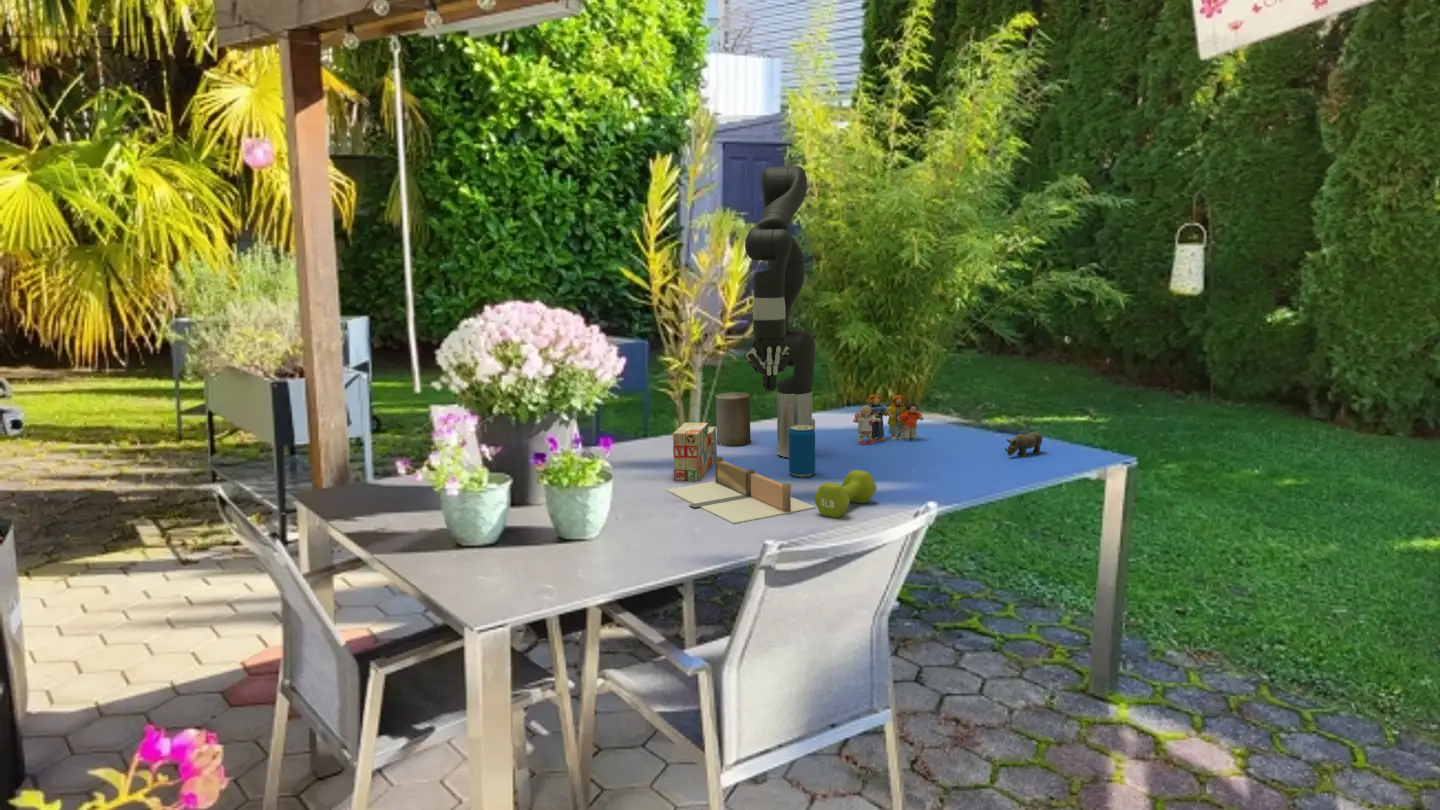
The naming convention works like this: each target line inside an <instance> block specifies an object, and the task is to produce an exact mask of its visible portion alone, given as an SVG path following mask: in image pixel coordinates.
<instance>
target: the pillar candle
mask: <svg viewBox="0 0 1440 810" xmlns="http://www.w3.org/2000/svg"><path fill="white" fill-rule="evenodd" d="M750 399H751V398H750V394H749V393H747V392H735V391H732V392H724V393H719V394H716V395H715V415H716V416H715V418H716V419H715V420H716V443H717V444H718V445H720V444H721V445H720V446H723V445H727V446H726V447H738V446H739V445H740V446H747V445H749V444H751V443H752V440H751V403H750V401H751V400H750Z"/></svg>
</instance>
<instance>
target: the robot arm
mask: <svg viewBox="0 0 1440 810" xmlns="http://www.w3.org/2000/svg"><path fill="white" fill-rule="evenodd" d="M761 175H762V176H761V189H762V192H761V193H762V200H763V207H764V209H763V212H762V214H761V217H760V221H758V222H757V223H756V224H755V225H754V226H753V227H752V228H750V230H749V232H748V233H747V235H746V237H745V241H744V250H745V253H746V255H747V256H748V258H750V259H751V260H754V261H767V269H765V270H760V271H758V272H756V273H754V276H753V303H752V336H753V342H752V348H751V349H750V350H749V351H748V352H745V353H743V357H744V358H745V359H746V361H747V362H748V363H749V365H750V366H751V367H752V369H753V371H754V372H755V373H757V374H761V375H762V388H763V389H764V391H766V392H773V391H774V392H775V391H776V408H777V409H776V414H777V416H776V417H777V418H776V420H777V421H776V426H777V428H776V429H777V431H776V432H777V441H776V442H777V445H776V446H777V447H776V448H777V456H778V455H780V456H783V457H782V458H784V457H788V458H787V459H789V431H790V430H791V426H795V425H809V426H813V429H814V431H815V432H816V420H815V418H813V385H814V384H813V383H814V378H815V377H814V376H815V360H816V359H815V357H816V343H815V339H814V336H813V334H811V333H810V332H807V331H801V330H800V331H799V330H790V316H791V315H790V313H791V309H792V307H793V305H794V303H795V301H796V299H797V297H798V296H799V294H800V292H801V290H802V288H803V285H804V283H805V260H804V259H805V258H804V253H803V252H802V249H801V248H800V246H799V244H798V243H797V241H796V239H794V237H793V236H792V234H791V233H790V232H789V229H790V227H791V223H792V220H793V217H794V216H795V214H796V213H797V212H798V210H799V209H800V207H801V206H802V204H803V203H804V200H805V198H806V195H807V191H808V180H807V174H806V171H805V169H804V168H803V167H802V166H799V165H785V166H784V165H783V166H770V167H766V168H764V169H763V172H762V174H761ZM758 359H759V360H758ZM787 366H788V367H793V371H792V372H793V373H792V374H791V375H790V376H787V377H784V378H781V379H779V380H778V381H777V375H778V374H779V373H782V372H783V371H785V369H786V368H787ZM780 456H779V457H780Z"/></svg>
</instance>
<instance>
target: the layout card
mask: <svg viewBox="0 0 1440 810" xmlns="http://www.w3.org/2000/svg"><path fill="white" fill-rule="evenodd" d="M730 489H731V490H730ZM665 492H668V493H670V494H671V495H674V496H676V497H678V498H680V499H682V500H683V501H686V502H688V503H690V504H689V506H690V507H692V508H701V509H702V510H705V511H706V512H708V513H710V514H712V515H714V514H715V515H714V516H716V515H717V516H716V517H718V516H719V518H720V517H721V519H722V518H723V520H724V519H725V521H726V520H727V522H728V521H730V522H732V523H736V524H740V523H739V522H741V523H745V521H746V522H750V521H756V520H761V519H766V518H772V517H776V516H777V517H778V516H782V515H787V514H792V513H798V512H802V511H808V510H813V509H816V506H814V505H812V504H810V503H807V502H805V501H802V500H800V499H798V498H794V497H793V496H791V511H783V510H781V509H779V508H777V507H774V506H772V505H770V504H767V503H765V502H763V501H761V500H758V499H756V498H754V497H751V496H748V494H747V495H745V494H743V493H741V492H739V491H736V490H734V489H732V488H729V487H727V486H725V485H723V484H720V483H718V482H716V480H715V481H710V482H702V483H696V484H690V485H686V486H685V485H684V486H679V487H678V486H677V487H673V488H667V489H666V490H665ZM730 522H729V523H730ZM732 523H731V524H732Z"/></svg>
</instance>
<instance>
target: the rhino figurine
mask: <svg viewBox="0 0 1440 810" xmlns="http://www.w3.org/2000/svg"><path fill="white" fill-rule="evenodd" d="M1006 441H1007V442H1008V443H1009V445H1008V446H1007V447H1004V450H1005V452H1006V453H1007V455H1008V456H1009V457H1011V456H1013V455H1014V454H1015V453H1016V452H1017V451H1018V452H1017V453H1016V455H1017V456H1020V457H1022V458H1027V456H1028V455H1027V450H1028V449H1029V450H1030V449H1033V450H1032V453H1034V455H1036V456H1037V455H1041V445H1042V442H1043V436H1042V435H1041V434H1040V433H1039V432H1038V431H1030V432H1028V433H1026V434H1023V433H1019V434H1017V435H1016V436H1014V437H1013V438H1012V439H1008V438H1006Z"/></svg>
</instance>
